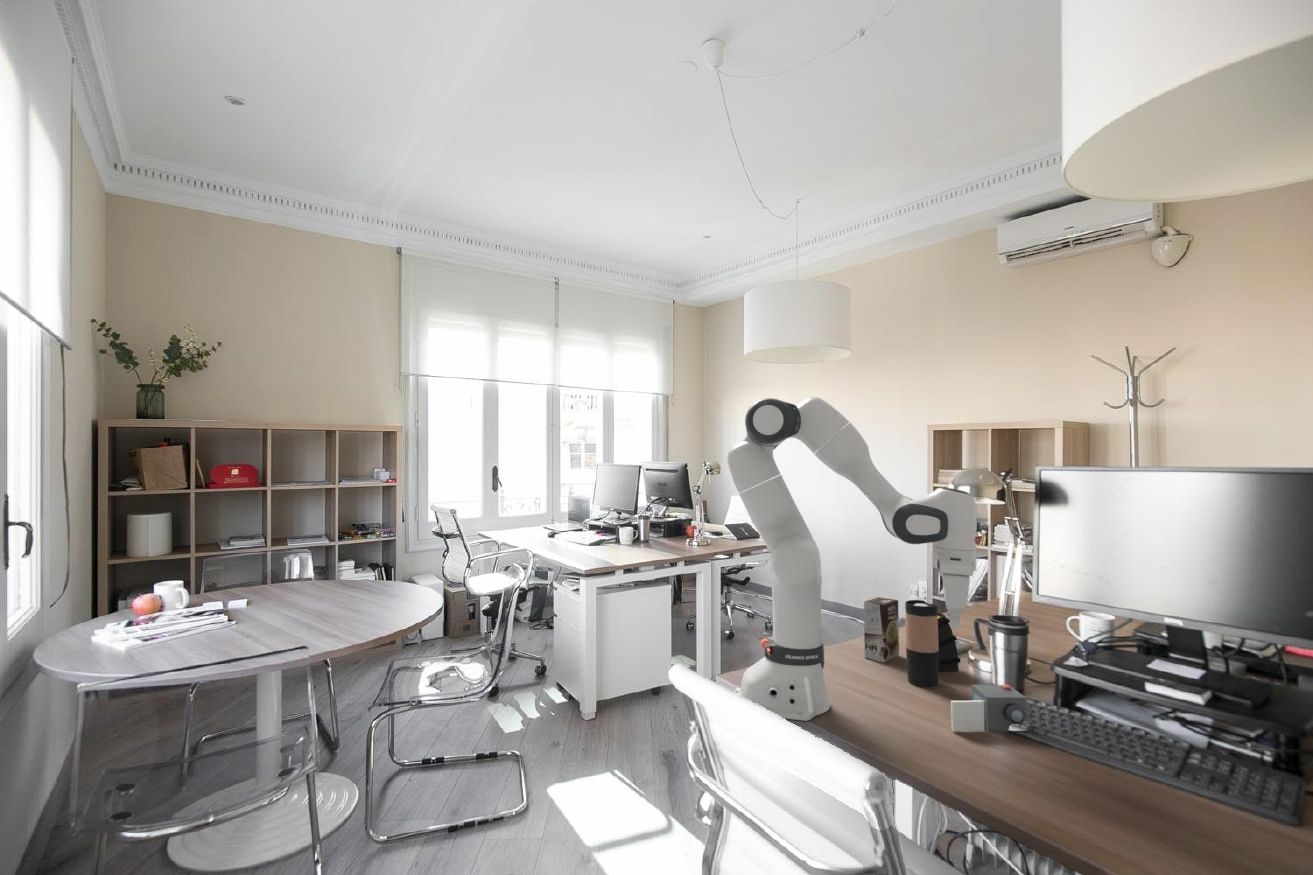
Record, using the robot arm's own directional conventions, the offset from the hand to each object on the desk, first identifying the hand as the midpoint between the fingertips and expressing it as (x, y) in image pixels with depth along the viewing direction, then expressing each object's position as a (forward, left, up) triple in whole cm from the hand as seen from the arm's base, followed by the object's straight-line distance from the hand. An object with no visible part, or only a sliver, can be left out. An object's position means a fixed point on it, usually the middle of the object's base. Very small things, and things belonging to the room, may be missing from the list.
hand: (953, 623), depth 134 cm
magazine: (+6, +29, -21) cm, 36 cm away
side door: (-1, -8, -20) cm, 21 cm away
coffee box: (-4, +40, -21) cm, 45 cm away
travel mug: (0, +20, -21) cm, 29 cm away
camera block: (+7, -4, -20) cm, 22 cm away
